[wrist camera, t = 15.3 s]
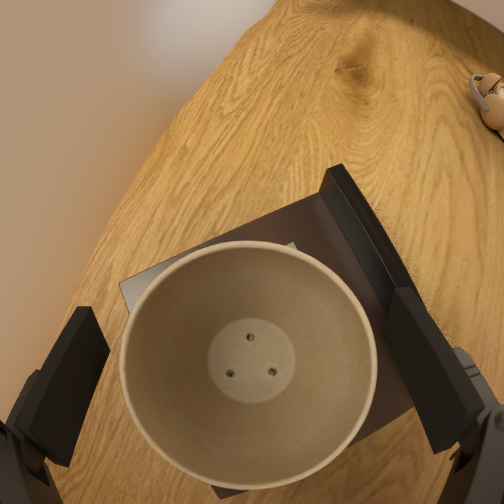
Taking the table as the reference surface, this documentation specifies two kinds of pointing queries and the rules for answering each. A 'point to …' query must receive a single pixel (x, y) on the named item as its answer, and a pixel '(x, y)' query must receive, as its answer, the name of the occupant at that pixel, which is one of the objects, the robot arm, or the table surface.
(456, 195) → the table surface
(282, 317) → the flower pot
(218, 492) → the tray
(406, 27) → the table surface
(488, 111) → the alarm clock
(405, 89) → the table surface
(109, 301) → the table surface
